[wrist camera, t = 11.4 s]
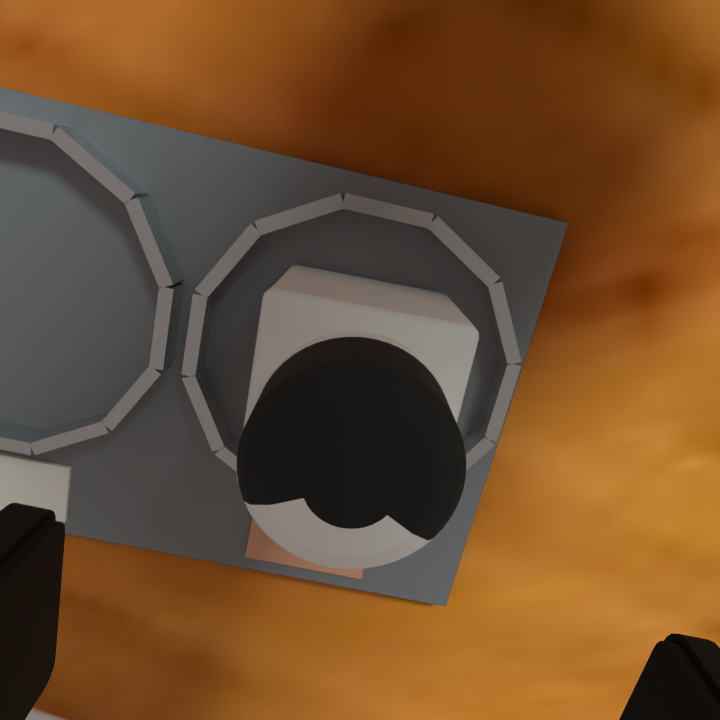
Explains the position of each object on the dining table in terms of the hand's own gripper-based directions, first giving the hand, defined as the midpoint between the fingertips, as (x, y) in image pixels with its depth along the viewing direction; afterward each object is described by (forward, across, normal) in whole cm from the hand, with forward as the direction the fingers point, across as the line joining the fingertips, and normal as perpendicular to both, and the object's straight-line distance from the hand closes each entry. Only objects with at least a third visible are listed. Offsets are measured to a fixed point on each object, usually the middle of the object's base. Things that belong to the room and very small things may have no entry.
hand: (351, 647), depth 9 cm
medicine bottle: (+18, 0, +1) cm, 18 cm away
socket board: (+18, +8, +3) cm, 20 cm away
